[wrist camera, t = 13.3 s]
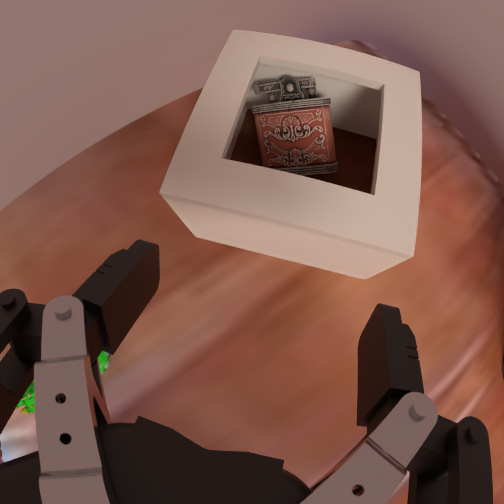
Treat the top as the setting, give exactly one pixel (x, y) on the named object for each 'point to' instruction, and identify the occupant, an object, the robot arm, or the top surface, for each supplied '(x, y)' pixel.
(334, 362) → the top surface
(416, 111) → the slot box
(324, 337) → the top surface
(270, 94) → the lighter
